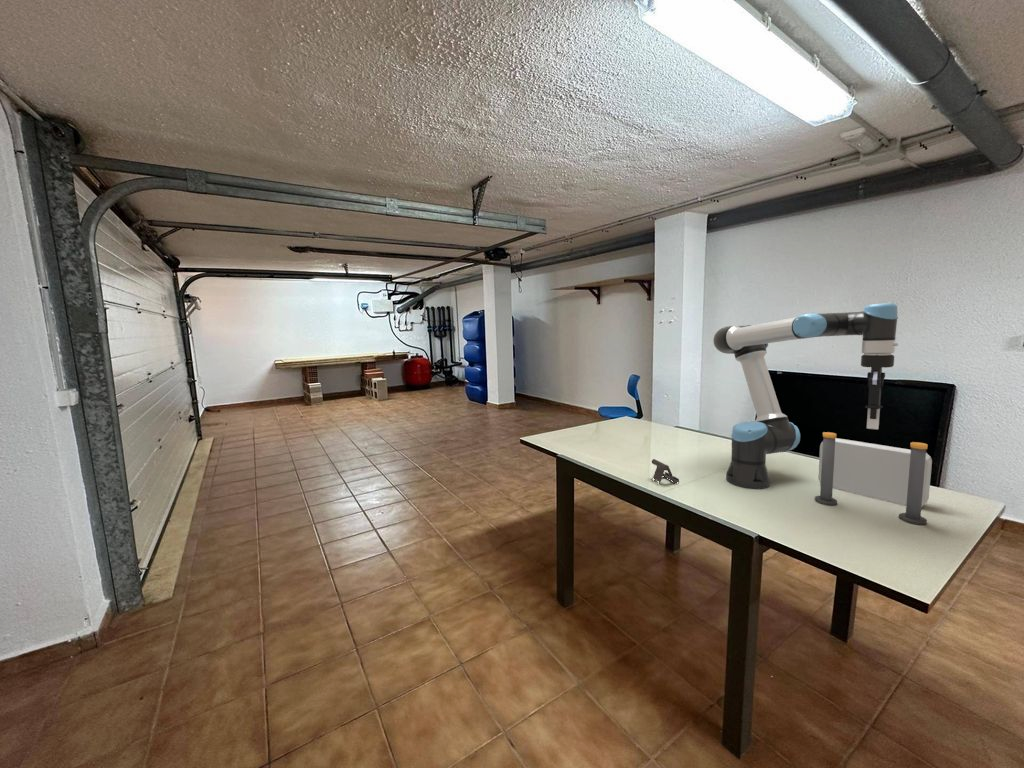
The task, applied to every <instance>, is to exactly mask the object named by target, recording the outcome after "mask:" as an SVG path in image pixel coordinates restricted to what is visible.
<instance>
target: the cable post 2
mask: <svg viewBox="0 0 1024 768" xmlns="http://www.w3.org/2000/svg"><path fill="white" fill-rule="evenodd" d="M928 446H929V445H928V444H927V443H924V442H919V441H918V442H917V441H916V442H915V441H912V442H910V446H909V447H910V450H911V454H910V466H909V478H908V491H907V503H906V506H905V512H902V513H901V512H900V513H899V514H898V519H899V520H900V521H903V522H905V523H908V524H912V525H916V526H925V525H927V524H928V520H927V518H926V517H923V516H922V506H921V505H922V494H923V482H924V471H925V459H926V453H927V450H928Z"/></svg>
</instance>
